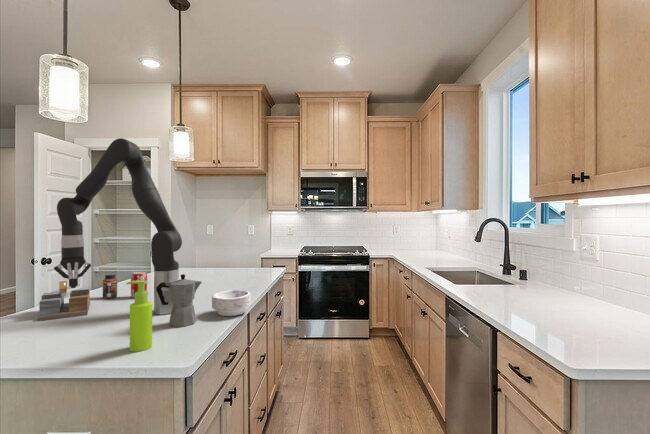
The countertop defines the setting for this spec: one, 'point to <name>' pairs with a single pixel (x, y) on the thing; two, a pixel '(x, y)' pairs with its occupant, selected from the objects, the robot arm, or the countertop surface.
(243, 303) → the white marbled bowl
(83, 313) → the block holder
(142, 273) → the soda can
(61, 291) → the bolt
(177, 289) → the coffeepot
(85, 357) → the countertop surface
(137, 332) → the soap dispenser
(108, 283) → the supplement bottle
